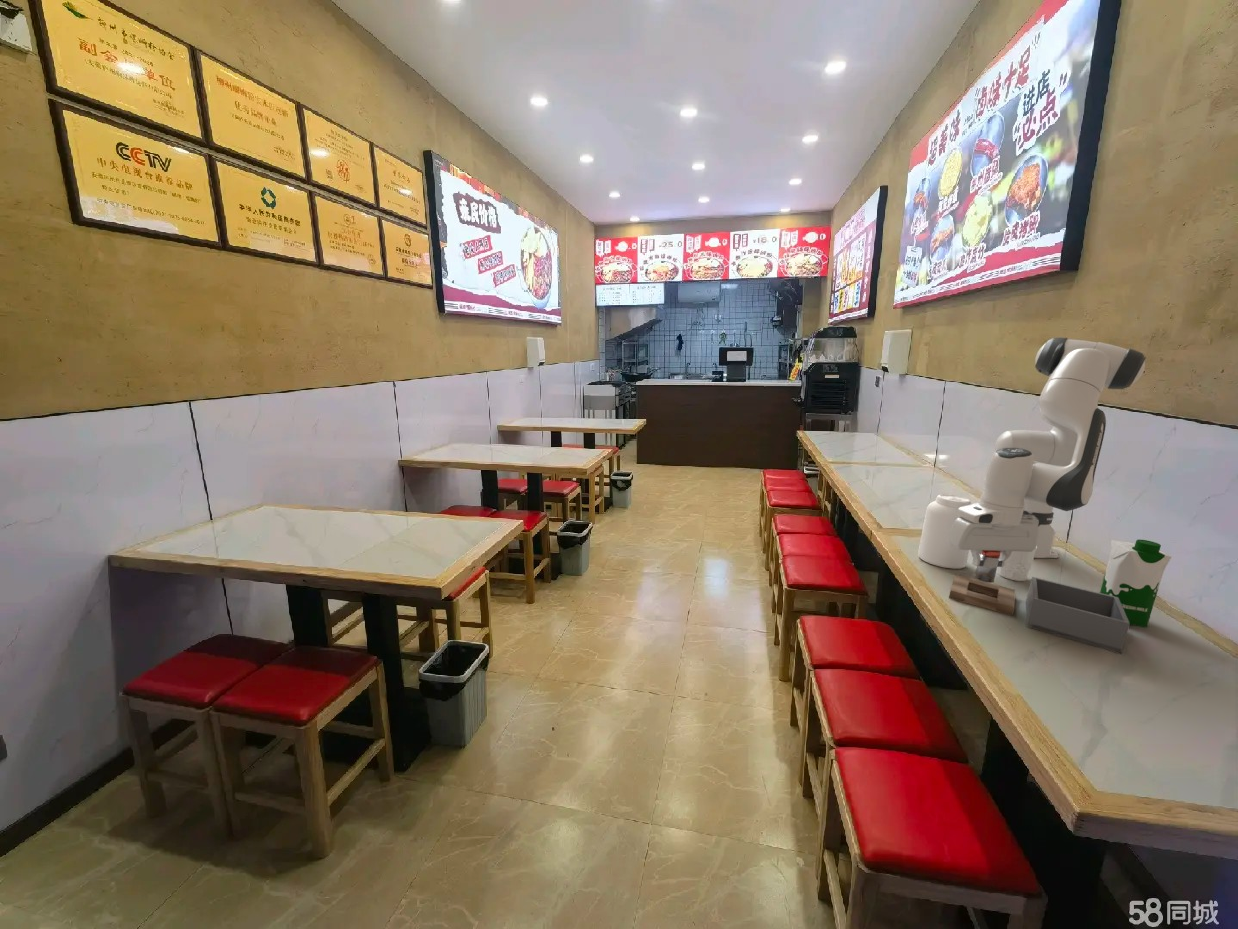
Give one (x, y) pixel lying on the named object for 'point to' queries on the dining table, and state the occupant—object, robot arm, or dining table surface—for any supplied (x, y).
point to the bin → (1076, 614)
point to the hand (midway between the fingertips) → (987, 565)
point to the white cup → (1017, 565)
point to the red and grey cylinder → (988, 566)
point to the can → (942, 533)
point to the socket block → (1000, 604)
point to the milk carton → (1135, 577)
